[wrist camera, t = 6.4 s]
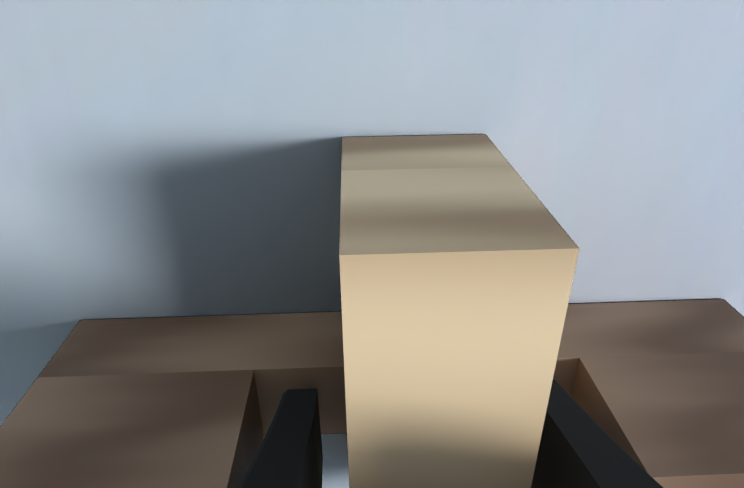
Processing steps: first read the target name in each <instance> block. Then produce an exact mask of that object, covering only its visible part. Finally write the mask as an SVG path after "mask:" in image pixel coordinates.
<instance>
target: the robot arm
mask: <svg viewBox="0 0 744 488" xmlns="http://www.w3.org/2000/svg"><path fill="white" fill-rule="evenodd" d="M322 460H323V456H322V443H321V430H320V417H319V404H318V392H317V388H310V389H288V390H287V391H286V392H284V393H283V395H282V398H281V401H280V403H279V406H278V408H277V411H276V413H275V416H274V418H273V420H272V422H271V425H270V427H269V429H268V431H267V433H266V435H265V437H264V439H263V441H262V443H261V445H260V447H259V449H258V451H257V453H256V455H255V457H254V459H253V460H252V462H251V464H250V466H249V468H248V470H247V472H246V474H245V475H244V477H243V479H242V481H241V483H240V484H239V486H238V488H322ZM531 488H663V487H662V486H661V485H660V484H659V483H658V482H657V481H655V480H654V479H653V478H652V477H651V476H650V475H649V474H648V473H647V472H646V471H645V470H644V469H643V468H642V467H640V466H639V465H638V464H637V463H636V462H635V461H634V460H633V459H632V458H631V457H630V456H629V455H628V454H627V453H626V452H625V451H624V450H623V449H622V448H621V447H620V446H619V445H618V444H617V443H616V442H615V441H614V440H613V439H612V438H611V437H610V436H609V435H608V434H607V433H606V432H605V431H604V430H603V429H602V428H601V427H600V426H599V425H598V424H597V423H596V422H595V421H594V420H593V419H592V418H591V417H590V416H589V415H588V414H587V413H586V412H585V411H584V410H583V409H582V407H581V406H580V405H579V404H578V403H577V402H576V401H575V400H574V399H573V398H572V397H571V396H570V395H569V394H568V393H567V392H566V391H565V390H564V389H563V388H562V387H561V386H560V385H559V384H558V383H557V382H556V381H555V380H554V379H553V381H552V386H551V391H550V396H549V401H548V405H547V410H546V415H545V420H544V425H543V430H542V435H541V440H540V445H539V450H538V455H537V460H536V465H535V470H534V474H533V479H532V484H531Z"/></svg>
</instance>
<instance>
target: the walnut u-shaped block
mask: <svg viewBox="0 0 744 488" xmlns="http://www.w3.org/2000/svg"><path fill="white" fill-rule="evenodd" d="M553 379H554V380H555V381H556V382H557V383H558V384H559V385H560V386H561V387H562V388H563V389H564V390H565V391H566V392H567V393H568V394H569V395H570V396H571V397H572V398H573V399H574V400H575V401H576V402H577V403H578V404H579V405H580V406H581V407H582V409H583V410H584V411H585V412H586V413H587V414H588V415H589V416H590V417H591V418H592V419H593V420H594V421H595V422H596V423H597V424H598V425H599V426H600V427H601V428H602V429H603V430H604V431H605V432H606V433H607V434H608V435H609V436H610V437H611V438H612V439H613V440H614V441H615V442H616V443H617V444H618V445H619V446H620V447H621V448H622V449H623V450H624V451H625V452H626V453H627V454H628V455H629V456H630V457H631V458H632V459H633V460H634V461H635V462H636V463H637V464H638V465H639V466H640V467H642V468H643V469H644V470H645V471H646V472H647V473H648V474H649V475H650V476H651V477H652V478H653V479H654V480H655V481H657V482H658V483H659V484H660V485H661V486H662V487H663V488H744V316H742V315H741V314H740V313H739V312H738V311H737V310H736V309H735V308H733V307H732V306H731V305H730V304H729V303H728V302H727V301H726V300H724V299H708V300H678V301H648V302H617V303H587V304H568V307H567V312H566V317H565V322H564V327H563V332H562V337H561V341H560V346H559V351H558V356H557V361H556V366H555V371H554V376H553ZM310 388H317V392H318V404H319V417H320V430H321V434H337V433H347V420H346V398H345V375H344V352H343V329H342V312H314V313H284V314H254V315H224V316H193V317H163V318H133V319H102V320H80V321H79V322H78V324H77V325H76V326H75V328H74V329H73V330H72V332H71V333H70V334H69V336H68V337H67V338H66V340H65V341H64V342H63V344H62V345H61V346H60V348H59V349H58V350H57V352H56V353H55V354H54V356H53V357H52V358H51V360H50V361H49V362H48V364H47V365H46V366H45V368H44V369H43V370H42V372H41V373H40V374H39V376H38V377H37V378H36V380H35V381H34V382H33V384H32V385H31V387H30V388H29V389H28V391H27V392H26V393H25V395H24V396H23V397H22V399H21V400H20V401H19V403H18V404H17V405H16V407H15V408H14V409H13V411H12V412H11V413H10V415H9V416H8V417H7V419H6V420H5V421H4V423H3V424H2V425H1V427H0V488H238V486H239V484H240V483H241V481H242V479H243V477H244V475H245V474H246V472H247V470H248V468H249V466H250V464H251V462H252V460H253V459H254V457H255V455H256V453H257V451H258V449H259V447H260V445H261V443H262V441H263V439H264V436H265V435H266V433H267V431H268V429H269V427H270V425H271V422H272V420H273V418H274V416H275V413H276V411H277V408H278V406H279V403H280V401H281V398H282V395H283V393H284V392H286V391H287V390H288V389H310Z"/></svg>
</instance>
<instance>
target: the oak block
mask: <svg viewBox="0 0 744 488" xmlns="http://www.w3.org/2000/svg"><path fill="white" fill-rule="evenodd" d="M578 253H579V247H578V246H577V245H576V244H575V242H574V241H573V240H572V239H571V238H570V236H569V235H568V234H567V233H566V231H565V230H564V229H563V228H562V227H561V225H560V224H559V223H558V222H557V220H556V219H555V218H554V217H553V216H552V214H551V213H550V212H549V211H548V210H547V208H546V207H545V206H544V205H543V203H542V202H541V201H540V200H539V199H538V197H537V196H536V195H535V194H534V192H533V191H532V190H531V189H530V188H529V186H528V185H527V184H526V183H525V181H524V180H523V179H522V178H521V177H520V175H519V174H518V173H517V172H516V170H515V169H514V168H513V167H512V166H511V164H510V163H509V162H508V161H507V159H506V158H505V157H504V156H503V155H502V153H501V152H500V151H499V150H498V149H497V147H496V146H495V145H494V144H493V142H492V141H491V140H490V139H489V138H488V136H487V135H486V134H467V135H419V136H372V137H342V165H341V206H340V247H339V260H340V283H341V306H342V329H343V352H344V375H345V398H346V420H347V443H348V466H349V488H531V484H532V479H533V474H534V470H535V465H536V460H537V455H538V450H539V445H540V440H541V435H542V430H543V425H544V420H545V415H546V410H547V405H548V401H549V396H550V391H551V386H552V381H553V376H554V371H555V366H556V361H557V356H558V351H559V346H560V341H561V337H562V332H563V327H564V322H565V317H566V312H567V307H568V302H569V297H570V292H571V287H572V282H573V277H574V272H575V268H576V263H577V258H578Z"/></svg>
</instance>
